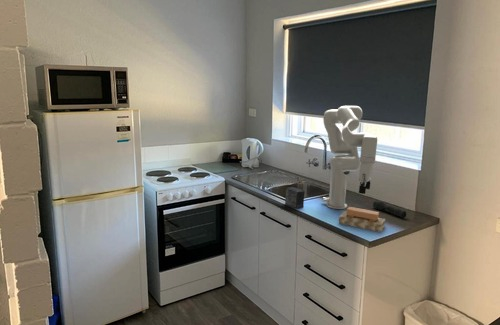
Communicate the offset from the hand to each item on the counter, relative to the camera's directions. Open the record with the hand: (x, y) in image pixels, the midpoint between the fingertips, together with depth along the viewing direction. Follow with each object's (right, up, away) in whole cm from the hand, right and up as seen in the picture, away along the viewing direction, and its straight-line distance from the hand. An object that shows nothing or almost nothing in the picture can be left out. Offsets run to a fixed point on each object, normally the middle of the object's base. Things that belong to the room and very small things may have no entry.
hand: (364, 191), depth 202 cm
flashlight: (+22, -15, +24) cm, 36 cm away
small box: (-33, -12, +32) cm, 48 cm away
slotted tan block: (0, -18, +4) cm, 19 cm away
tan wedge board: (0, -18, +4) cm, 19 cm away
